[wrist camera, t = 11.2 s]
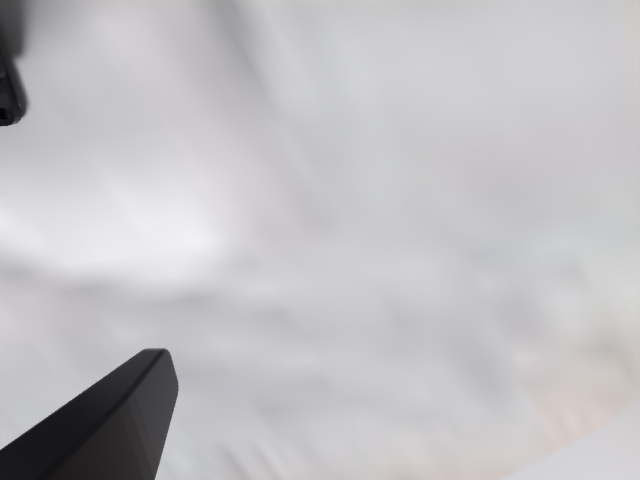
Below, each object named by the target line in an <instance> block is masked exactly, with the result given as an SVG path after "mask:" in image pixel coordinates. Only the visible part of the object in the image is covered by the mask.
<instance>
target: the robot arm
mask: <svg viewBox="0 0 640 480" xmlns="http://www.w3.org/2000/svg"><path fill="white" fill-rule="evenodd" d="M3 108H5V109H6V110H7V112H8V113H9V117H7V116H6V115H5V114H4V111H3ZM20 120H21V111H20V108H19V105H18V102H17V100H16V97H15V94H14V91H13V88H12V86H11V83H10V80H9V77H8V74H7V72H6V68H5V66H4V63H3V60H2V57H1V54H0V126H8V125H12V124H16V123H18V122H19V121H20ZM177 395H178V380H177V376H176V372H175V369H174V365H173V361H172V358H171V355H170V352H169V351H168V350H167V349H165V348H148V349H144V350H142V351H140V352H139V353H138V354H136V355H135V356H133V357H132V358H130V359H129V360H128V361H126V362H125V363H123V364H122V365H121V366H119V367H118V368H116V369H115V370H113V371H112V372H111V373H109V374H108V375H106V376H105V377H103V378H102V379H101V380H99V381H98V382H96V383H95V384H93V385H92V386H91V387H89V388H88V389H86V390H85V391H83V392H82V393H81V394H79V395H78V396H76V397H75V398H73V399H72V400H71V401H69V402H68V403H66V404H65V405H64V406H62V407H61V408H59V409H58V410H56V411H55V412H54V413H52V414H51V415H49V416H48V417H46V418H45V419H44V420H42V421H41V422H39V423H38V424H36V425H35V426H34V427H32V428H31V429H29V430H28V431H26V432H25V433H24V434H22V435H21V436H19V437H18V438H17V439H15V440H14V441H12V442H11V443H9V444H8V445H7V446H5V447H4V448H2V449H1V450H0V480H155V477H156V473H157V470H158V466H159V463H160V459H161V455H162V452H163V448H164V444H165V441H166V437H167V433H168V429H169V426H170V422H171V418H172V414H173V411H174V407H175V403H176V399H177Z"/></svg>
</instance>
